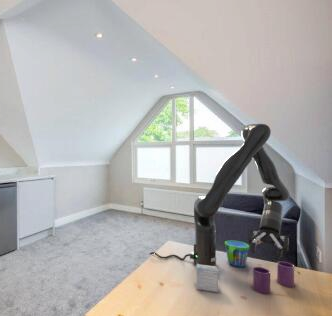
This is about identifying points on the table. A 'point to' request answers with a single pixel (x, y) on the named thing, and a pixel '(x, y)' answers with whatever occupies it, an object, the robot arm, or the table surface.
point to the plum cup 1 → (261, 280)
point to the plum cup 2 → (285, 274)
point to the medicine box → (207, 277)
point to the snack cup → (237, 252)
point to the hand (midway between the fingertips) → (265, 255)
